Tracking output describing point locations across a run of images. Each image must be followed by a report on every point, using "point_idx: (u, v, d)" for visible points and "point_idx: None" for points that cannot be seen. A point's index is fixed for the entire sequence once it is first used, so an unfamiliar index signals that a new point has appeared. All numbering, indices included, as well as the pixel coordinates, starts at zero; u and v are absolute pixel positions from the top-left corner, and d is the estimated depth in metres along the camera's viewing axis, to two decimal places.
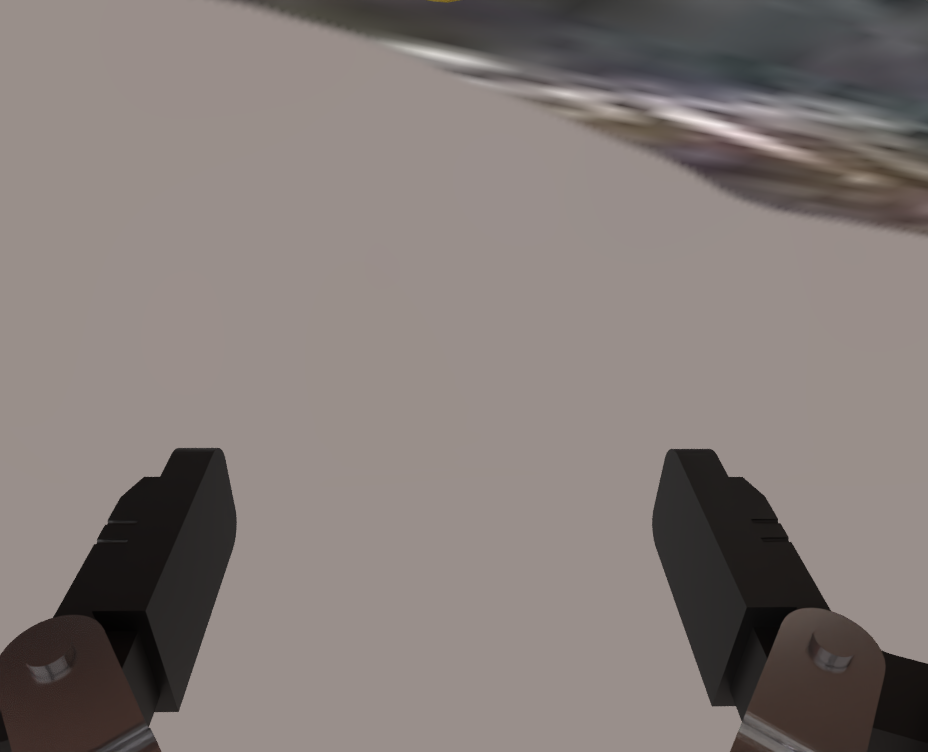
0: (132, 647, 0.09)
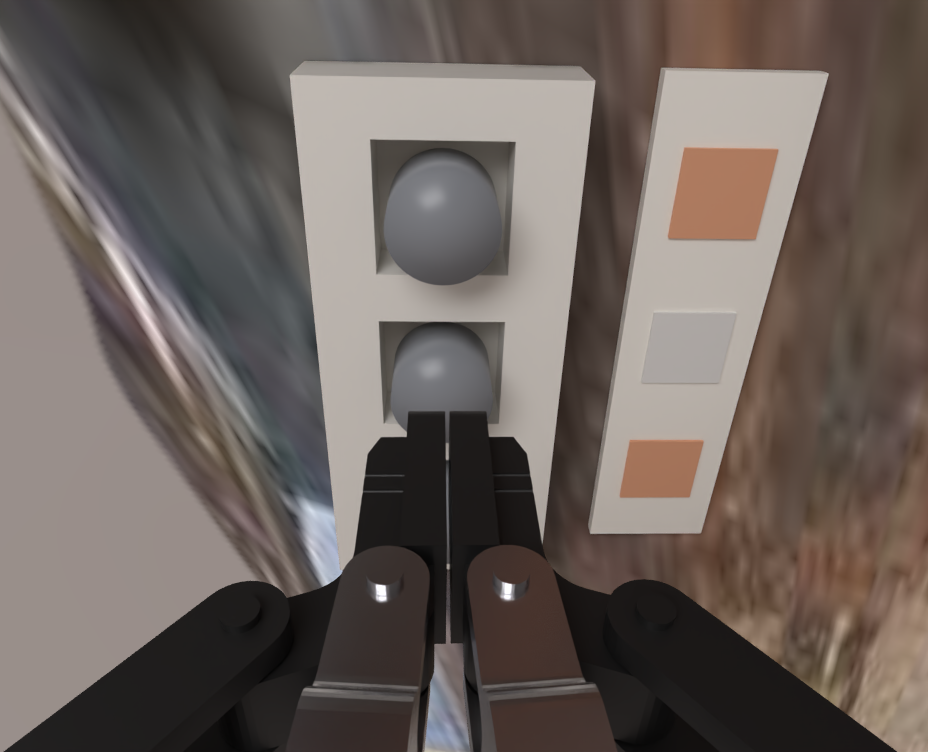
0: None
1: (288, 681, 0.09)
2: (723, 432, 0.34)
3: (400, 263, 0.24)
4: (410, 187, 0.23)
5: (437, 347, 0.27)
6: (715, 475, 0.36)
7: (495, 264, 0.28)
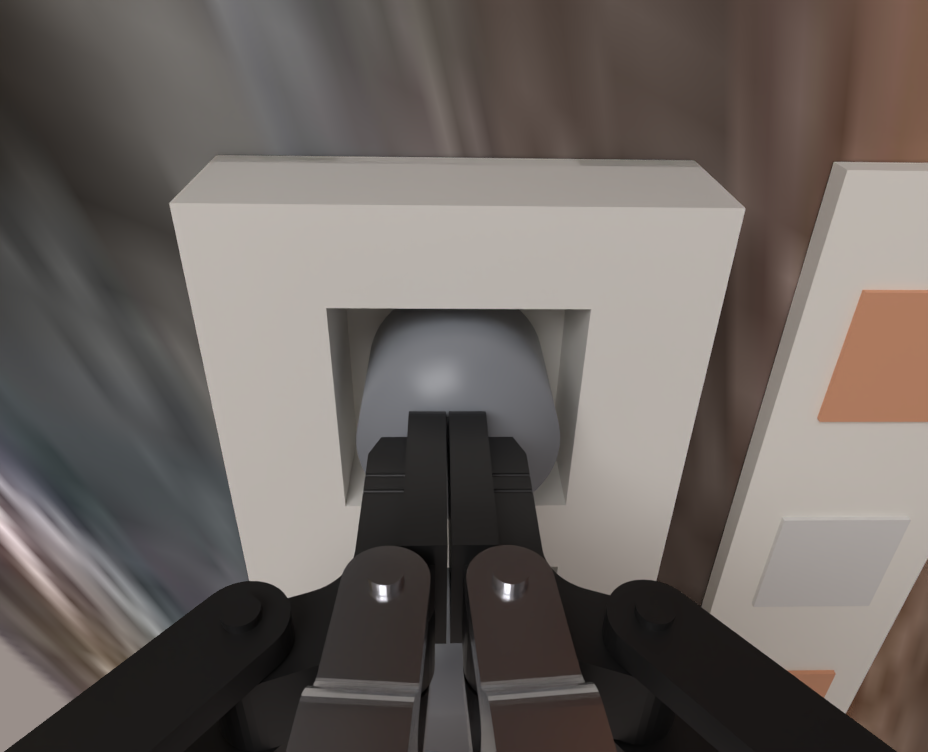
0: (435, 578, 0.10)
1: (288, 681, 0.09)
2: (865, 661, 0.23)
3: None
4: (401, 381, 0.13)
5: (448, 621, 0.16)
6: (845, 709, 0.25)
7: None
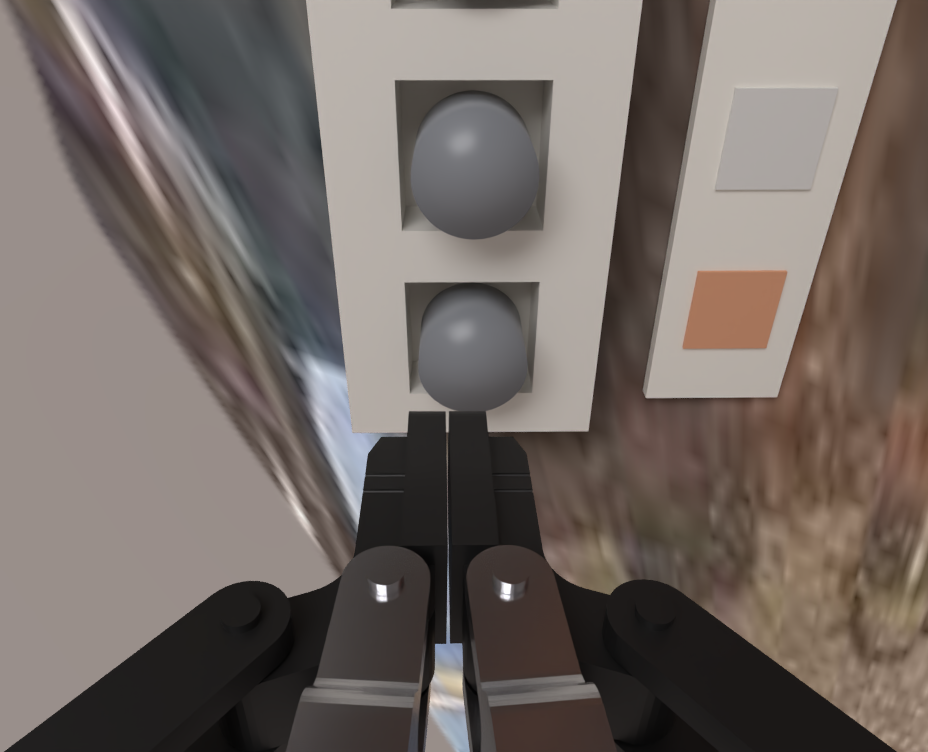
0: (435, 578, 0.10)
1: (288, 681, 0.09)
2: (812, 259, 0.28)
3: None
4: None
5: (469, 105, 0.21)
6: (798, 319, 0.30)
7: (540, 5, 0.22)
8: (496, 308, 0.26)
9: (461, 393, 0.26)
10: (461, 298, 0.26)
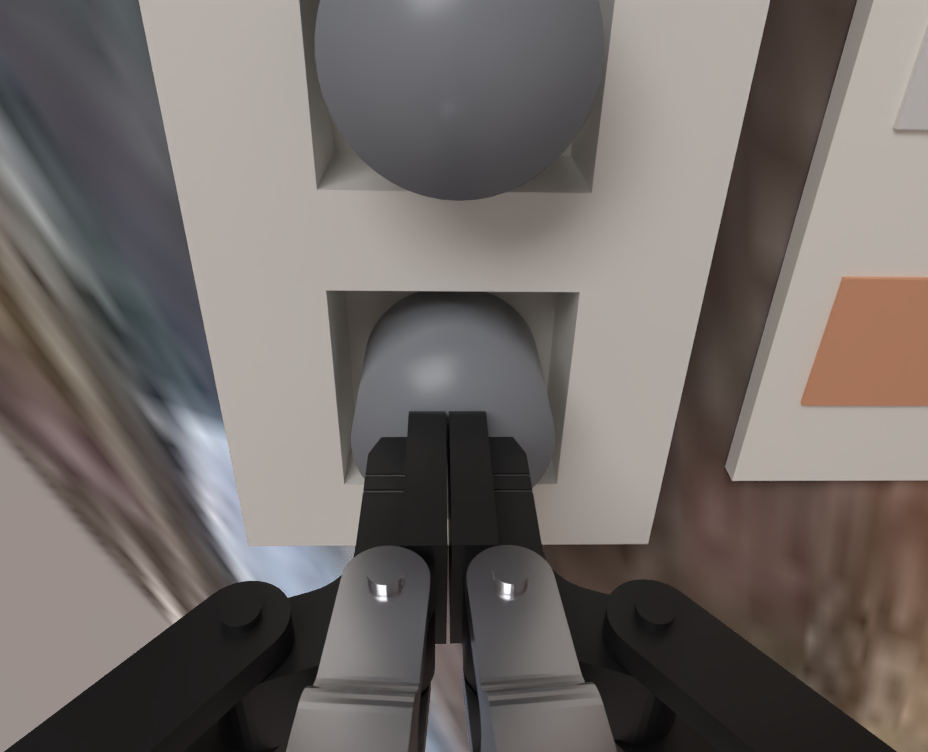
0: (435, 578, 0.10)
1: (289, 681, 0.09)
2: None
3: None
4: None
5: None
6: None
7: None
8: (497, 333, 0.14)
9: None
10: (432, 312, 0.14)
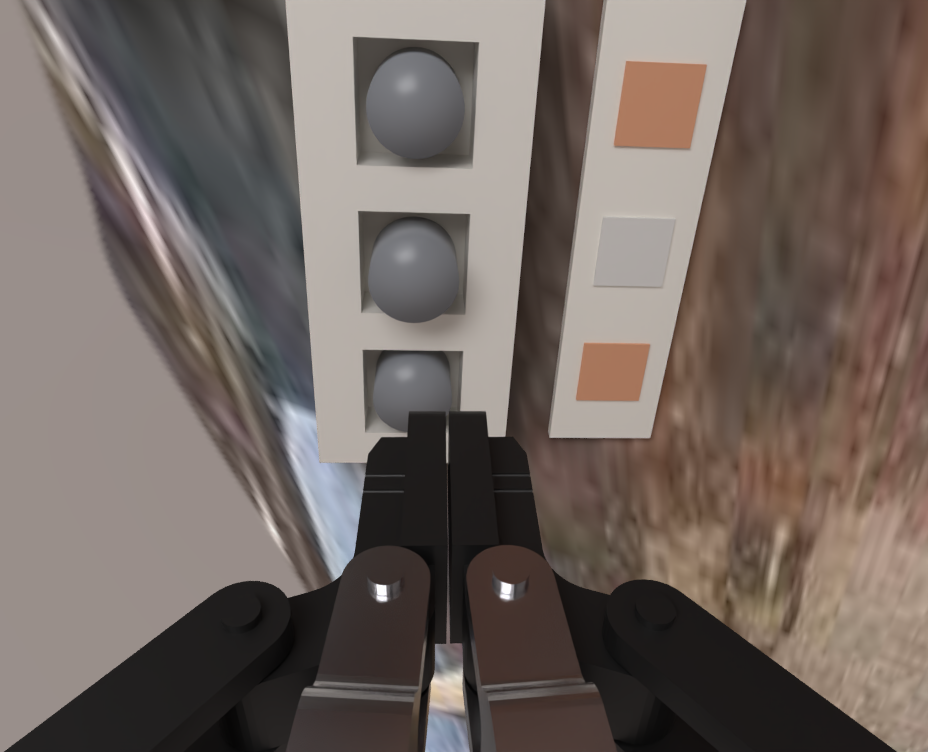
0: (435, 578, 0.10)
1: (288, 681, 0.09)
2: (667, 336, 0.38)
3: (379, 137, 0.29)
4: (388, 68, 0.28)
5: (410, 232, 0.31)
6: (661, 379, 0.40)
7: (461, 162, 0.32)
8: (430, 357, 0.36)
9: (404, 418, 0.36)
10: None
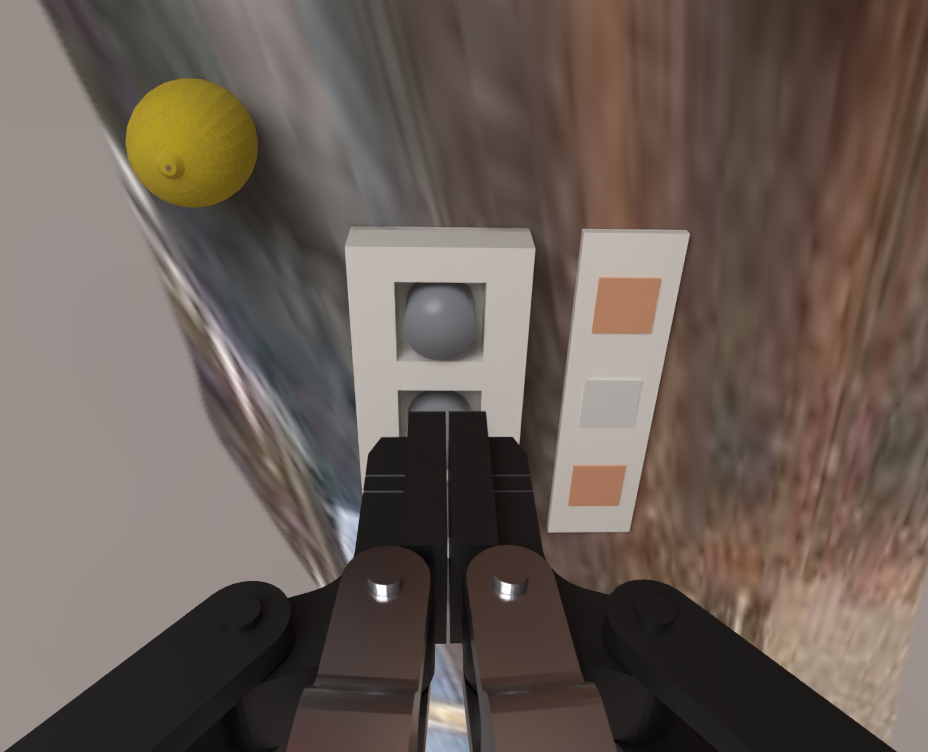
0: (435, 578, 0.10)
1: (288, 681, 0.09)
2: (639, 460, 0.48)
3: (413, 347, 0.40)
4: (420, 304, 0.38)
5: (436, 408, 0.41)
6: (636, 490, 0.50)
7: (475, 352, 0.42)
8: None
9: None
10: None
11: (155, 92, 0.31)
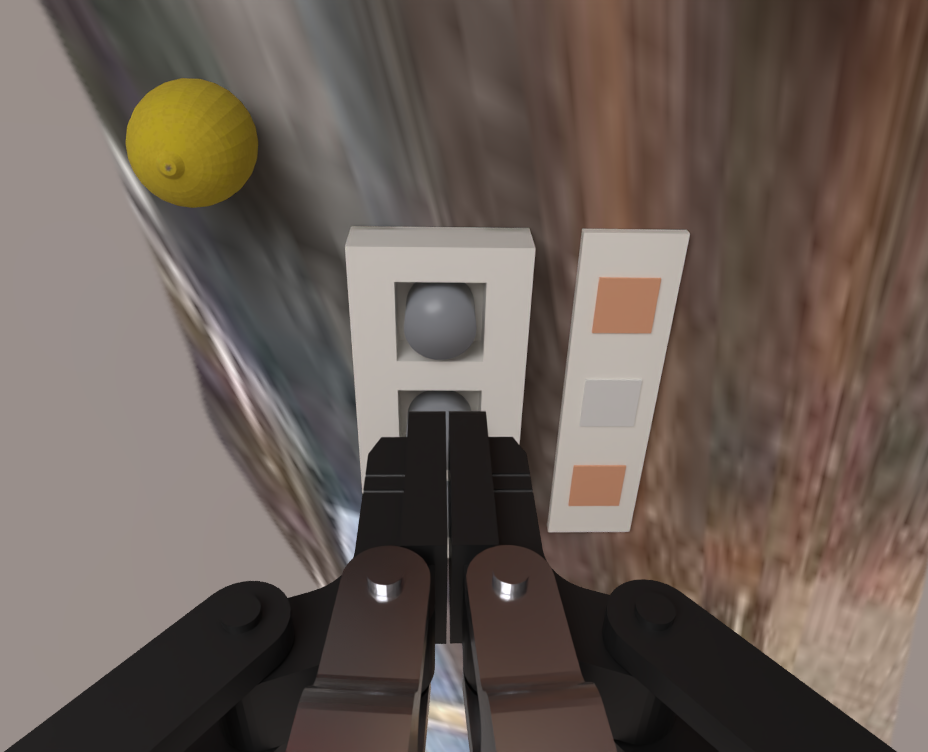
0: (435, 578, 0.10)
1: (288, 681, 0.09)
2: (640, 459, 0.48)
3: (414, 347, 0.40)
4: (420, 304, 0.38)
5: (436, 408, 0.41)
6: (636, 490, 0.50)
7: (475, 352, 0.42)
8: None
9: None
10: None
11: (155, 92, 0.31)
